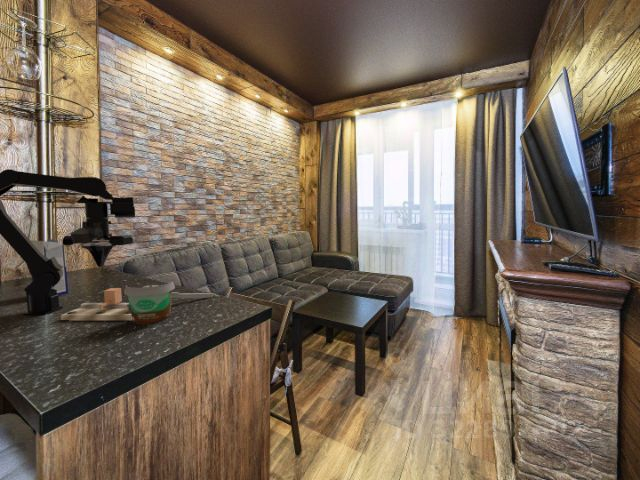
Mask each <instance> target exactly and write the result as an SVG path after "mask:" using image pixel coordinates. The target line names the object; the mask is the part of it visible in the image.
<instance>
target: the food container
mask: <svg viewBox="0 0 640 480" xmlns="http://www.w3.org/2000/svg"><path fill="white" fill-rule="evenodd" d="M175 288H176V286H175V283H174V282H173V280H172V281H171V282H169V283H165V284H146V285H142V286H137V287H130V286H127V284H126V285H125V287H124V292H123V293H124V295H125V296H127V299H128V303H129V306H130V311H131V317H132V320H131V321H132V323H134V324H137V325H152V324H156V323H161V322H164V321H165V320H168V319H169V318H170V317H171V310H172V301H171V299H172V292H173V290H174V289H175Z"/></svg>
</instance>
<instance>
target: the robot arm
mask: <svg viewBox="0 0 640 480" xmlns="http://www.w3.org/2000/svg"><path fill="white" fill-rule="evenodd" d="M19 185H20V186H29V187H36V188H45V189H55V190H56V189H57V190H63V191H64V190H65V191H71V192H74V193H77V194H81V198H79V199H78V200H76V203H77V204H84V209H85V210H84V213H85V221H82V223H81V225H82V226H81V227H80V228H77V229H75V230H74V231H72V232H70V235H64V236H63V238H62V240H61V241H62V243H61V244H63V245H65V246H73V245H76V244H82V246H81V248H82V249H86V250H87V251H89V253H90V255H91V256H92V259H93V260H94V262H95V263H96V265H97V267H98V268H102V267H104V265H105V263H106V261H107V258H108V257H109V254H110V252H111V251H112V249H113V248H114V247H116V246H126V245H130V244H134V238H133V236H132V235H131V234H119V235H118V234H117V235H113V233H110V226H109V225H112V220H109V213H110V215H111V216H114V218H115V219H124V218H125V219H126V218H127V219H129V218H132V219H133V218H136V207H135V205H134V197H132V196H131V197H130V196H128V197H114V196H113V194H111V193H110V192H109V191H108V190H107V185H106V183H105V181H103V180H102V179H101V178H98V177H96V176H79V177H78V176H77V177H75V176H74V177H65V176H59V175H50V174H43V173H42V174H41V173H35V172H27V171H20V170H19V171H18V170H14V169H10V168H9V169H3V170H1V171H0V197H1V196H4V195H5V194H7V192H9V191H10V190H12V189H13V188H15V187H16V186H19ZM86 196H91V198H90V197H89V198H88V197H86ZM92 197H94V198H92ZM96 197H98V198H96ZM99 198H102V199H103V200H106V201H99ZM108 205H109V209H110V211H109V212H108V210H109V209H108ZM0 236H1V237H2V238H3V239H4V240H5V241H6V242H7V244H8V245H9V246H10V247H12V249H13V251H14V252H15V253H16V254H17V255H18V256H19V257H20V258H21V259H22V260H23V262H24V263H25V264H26V267H27V270H28V272H29V274H30V276H31V279H32V278H33V279H34V281H33V282H32V281H31V282H30V283H29V284H28V285H27V286H25V288H24V292H25V296H26V304H27V307H26V308H27V311H24V312H22V316H23V315H24V316H27V315H28V316H29V315H31V316H32V315H36V316H37V315H47V314H50V313H53V312H55V311H58V310H60V309H63V305H60V299H59V297H60V296H58V295H57V290H55V289H52V288H53V287H54V286H55V285H56V284H57V283H58V282H59V281H60V280H61V278H62V277H63V270H62V268H63V266H61V265H60V264H59V263H58V262H57V260H56V258H55V257H52V258H50V259H48V258H47V257H45V256H44V255H42V254H41V253H40V251H39V250H38V249H37V248H36V247H35V246H34V244H33V243H32V242H31V241H32V240H31V239H30V238H29V237H28V236H27V235H26V234H25V232H23V230H22V229H21V228H20V227H19V225H18V224H17V223H16V222H15V221H14V220H13V219H12V217H11V216H10V215H9V214H8V212H7V210H6V207H5V205H4V203H3V201H2V199H1V198H0Z"/></svg>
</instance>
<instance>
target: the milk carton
mask: <svg viewBox="0 0 640 480" xmlns="http://www.w3.org/2000/svg"><path fill="white" fill-rule="evenodd" d="M30 241H31V242H32V243H33V244H34V246H35V247H36V248H37V249H38V250H39V251H40V253H41V254H42V255H44V256H45V257H47V258H48V259H50V258H52V257H55V258H56V260H57V262H58V263H59V264H60V265H61V266H63V268H62V270H63V277H62V278H61V280H60V281H59V282H58V283H57V284H56V285H55V286H54V287H53V288H52V289H55V290H57V295H58V297H60V296H64V295H67V294H69V284H68V273H67V272H68V271H67V260H66V247H65V246H66V245H63V243H59V242H58V241H59V240H58V239H51V238H47V240H45V241H44V240H30ZM33 281H34V279H33V278H32V277H31V282H33Z"/></svg>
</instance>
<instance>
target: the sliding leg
mask: <svg viewBox="0 0 640 480" xmlns="http://www.w3.org/2000/svg"><path fill="white" fill-rule="evenodd" d="M103 294H104V296H103V299H104V302H101V303H102V304H99V307H100V311H103V306H105V305H107V304H117V303H122V301H123V299H122V298H123V297H122V287H111V288H108V289H105V290H104V291H103Z"/></svg>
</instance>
